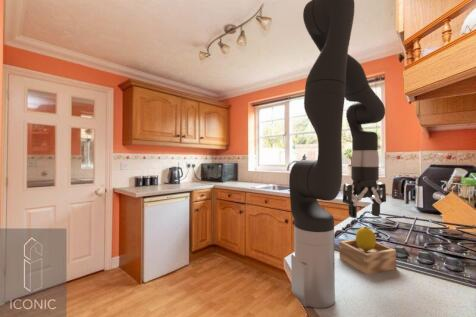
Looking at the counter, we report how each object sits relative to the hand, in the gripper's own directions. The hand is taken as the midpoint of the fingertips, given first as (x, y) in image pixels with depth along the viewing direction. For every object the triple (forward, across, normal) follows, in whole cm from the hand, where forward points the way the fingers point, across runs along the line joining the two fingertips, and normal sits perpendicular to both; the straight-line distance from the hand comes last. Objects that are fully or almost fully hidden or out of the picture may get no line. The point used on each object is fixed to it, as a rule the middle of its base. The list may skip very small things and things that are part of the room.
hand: (364, 216), depth 72 cm
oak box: (+15, +1, 0) cm, 15 cm away
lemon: (+11, 0, 0) cm, 11 cm away
